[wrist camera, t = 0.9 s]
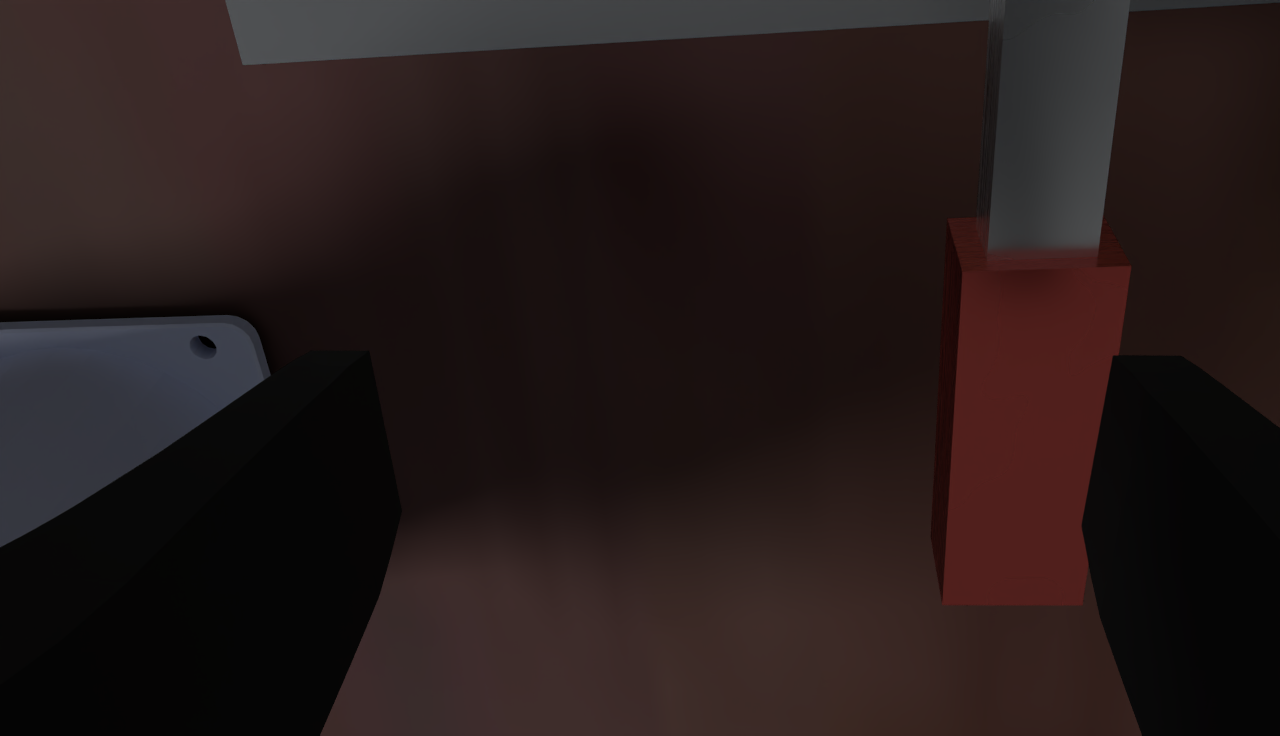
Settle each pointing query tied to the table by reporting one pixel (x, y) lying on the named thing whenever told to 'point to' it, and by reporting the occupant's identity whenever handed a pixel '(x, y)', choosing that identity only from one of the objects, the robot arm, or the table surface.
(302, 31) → the valve on pipe
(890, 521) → the table surface
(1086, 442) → the valve lever
